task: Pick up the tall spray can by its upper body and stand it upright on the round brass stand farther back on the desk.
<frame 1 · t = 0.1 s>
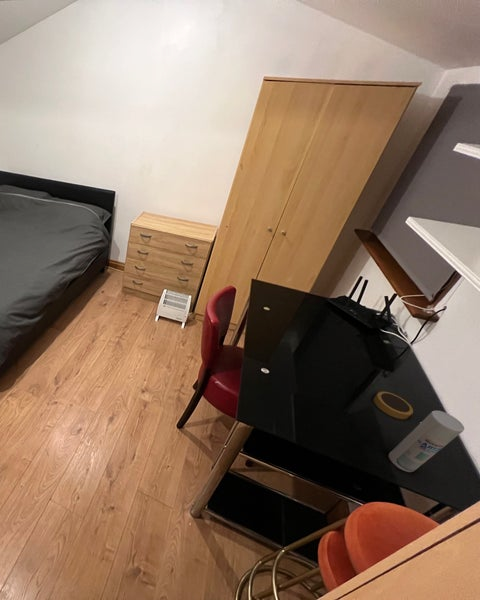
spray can: (400, 462, 97), on the table
stand: (390, 407, 114), on the table
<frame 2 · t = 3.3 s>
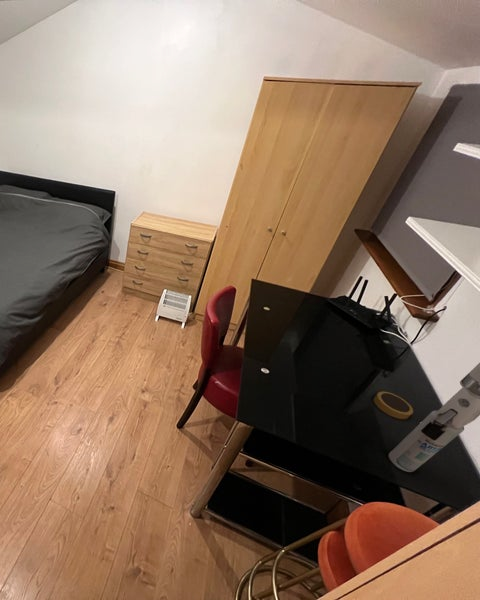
hand: (435, 431, 88), 15 cm above the table, tool pointing down, fingers closed on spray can, 6 cm apart
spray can: (400, 462, 97), on the table, touching gripper
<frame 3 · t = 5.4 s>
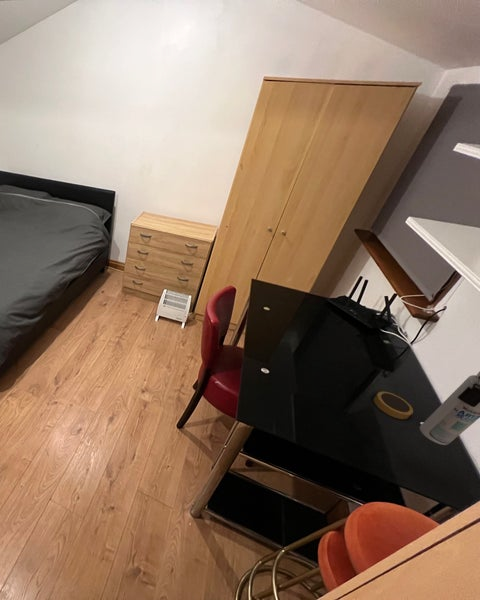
hand: (473, 398, 81), 29 cm above the table, tool pointing down, fingers closed on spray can, 6 cm apart
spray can: (433, 435, 89), point 13 cm above the table, touching gripper
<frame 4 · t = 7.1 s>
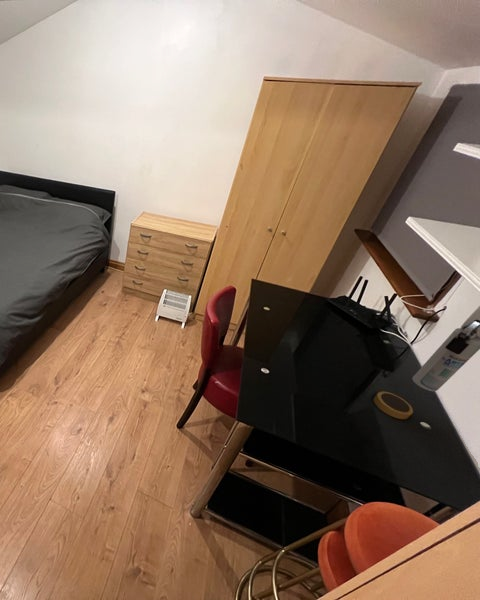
hand: (458, 348, 94), 32 cm above the table, tool pointing down, fingers closed on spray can, 6 cm apart
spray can: (424, 384, 102), point 16 cm above the table, touching gripper
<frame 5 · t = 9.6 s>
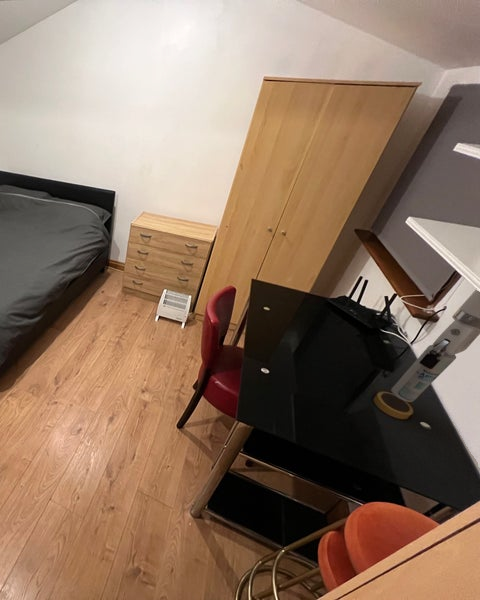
hand: (431, 363, 103), 22 cm above the table, tool pointing down, fingers closed on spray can, 6 cm apart
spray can: (401, 395, 111), point 6 cm above the table, touching gripper
when the fingers open (18 cm above the table, at t = 11.1 s): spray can stays where it is, resting on stand.
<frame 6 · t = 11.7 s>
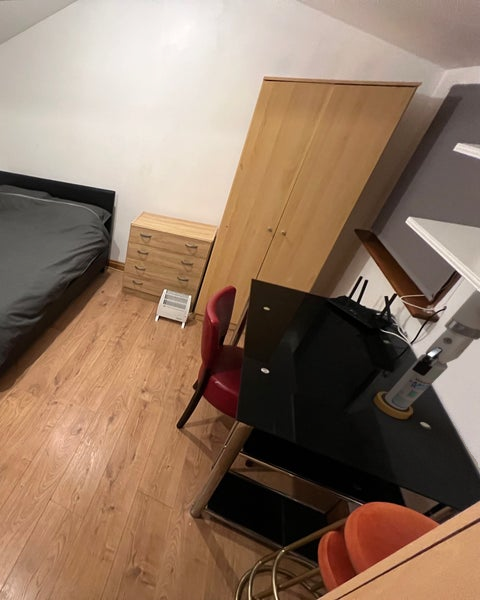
hand: (426, 369, 104), 19 cm above the table, tool pointing down, fingers open, 9 cm apart
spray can: (395, 402, 113), point 3 cm above the table, touching stand
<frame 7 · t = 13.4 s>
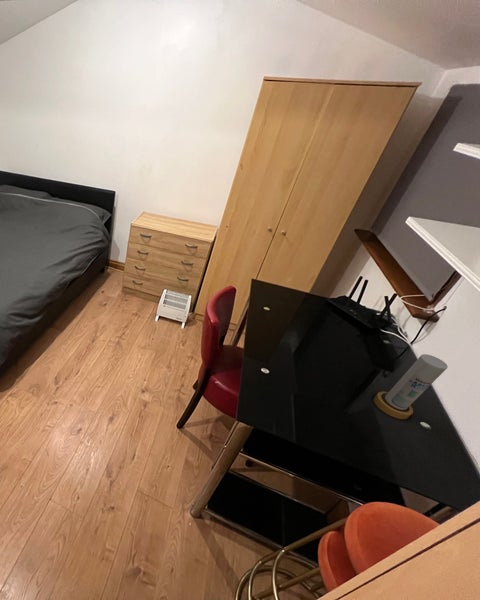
nothing on the table moved.
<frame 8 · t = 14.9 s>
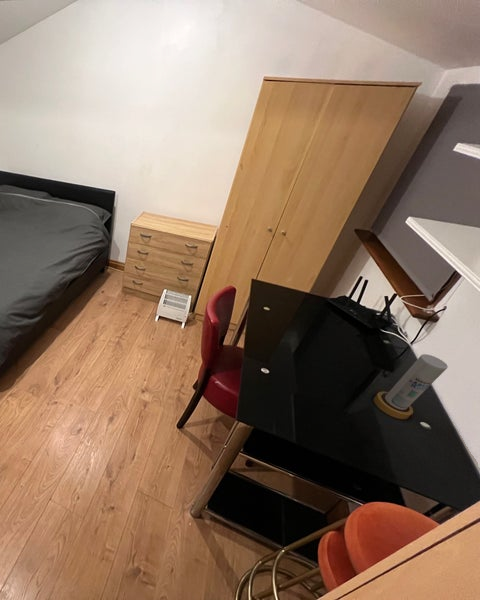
nothing on the table moved.
at the end: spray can 0.1 cm off-centre on the stand, point 2.5 cm above the stand's base; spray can tilted 0°; the gripper is holding nothing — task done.
